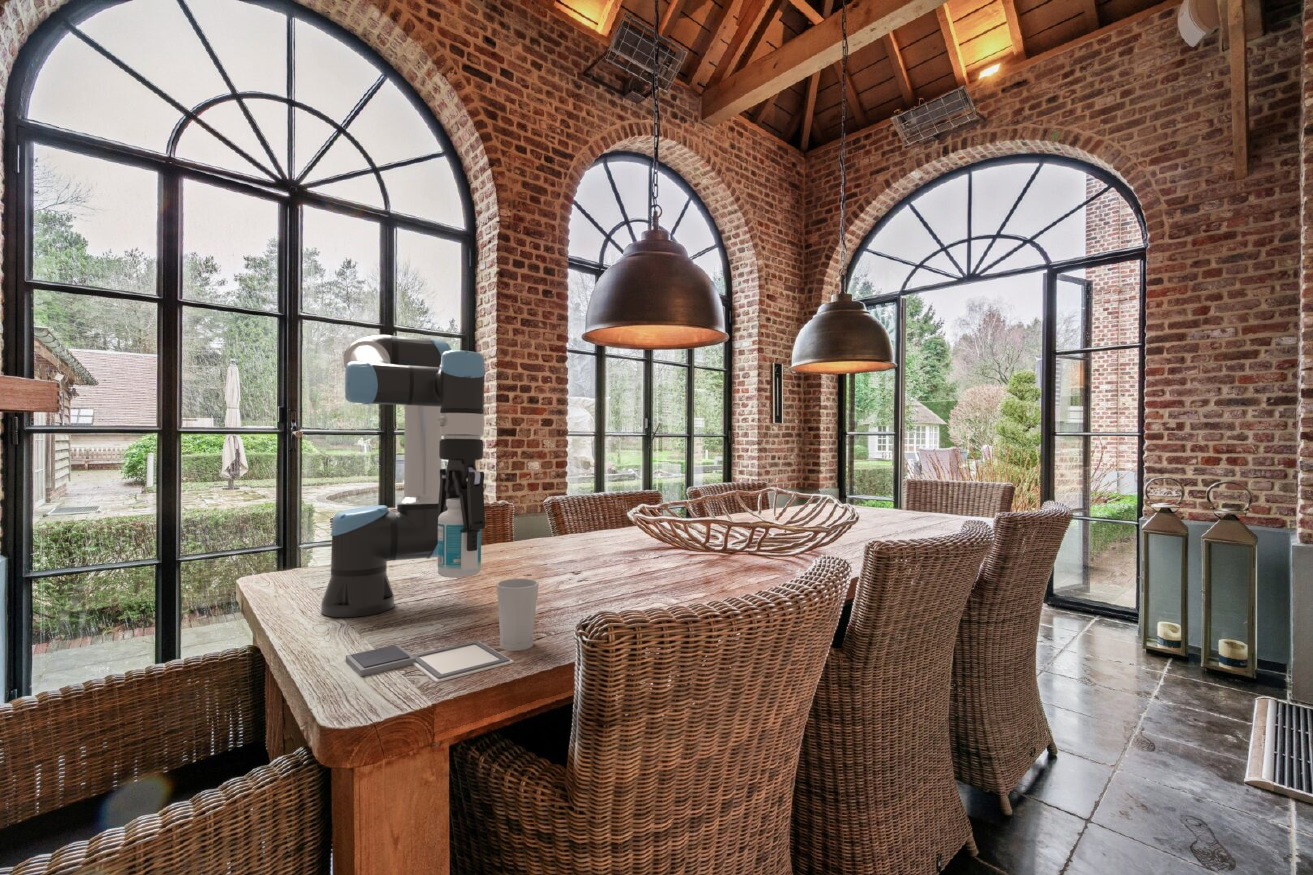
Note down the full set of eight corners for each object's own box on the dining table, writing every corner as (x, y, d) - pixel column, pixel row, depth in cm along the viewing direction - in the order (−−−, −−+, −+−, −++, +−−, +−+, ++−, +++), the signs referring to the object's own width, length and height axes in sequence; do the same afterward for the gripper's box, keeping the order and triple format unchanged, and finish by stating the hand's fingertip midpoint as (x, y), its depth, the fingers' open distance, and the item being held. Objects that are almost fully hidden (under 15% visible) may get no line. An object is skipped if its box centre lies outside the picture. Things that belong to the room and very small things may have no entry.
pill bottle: (489, 571, 110) (490, 498, 110) (463, 580, 103) (464, 501, 103) (455, 568, 113) (456, 496, 113) (427, 576, 106) (429, 499, 106)
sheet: (405, 658, 109) (405, 655, 109) (478, 642, 118) (478, 639, 118) (436, 682, 98) (436, 679, 98) (513, 662, 108) (513, 659, 108)
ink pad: (345, 660, 107) (345, 654, 107) (397, 649, 113) (397, 643, 113) (360, 676, 100) (361, 669, 100) (415, 663, 106) (415, 656, 106)
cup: (499, 638, 121) (500, 578, 121) (539, 638, 121) (540, 578, 121) (491, 652, 113) (493, 588, 113) (535, 651, 113) (536, 588, 113)
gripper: (419, 437, 113) (417, 558, 113) (465, 437, 98) (463, 578, 98) (458, 437, 118) (456, 554, 118) (507, 438, 103) (505, 572, 103)
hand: (459, 565), depth 108 cm, fingers closed on pill bottle, 7 cm apart
